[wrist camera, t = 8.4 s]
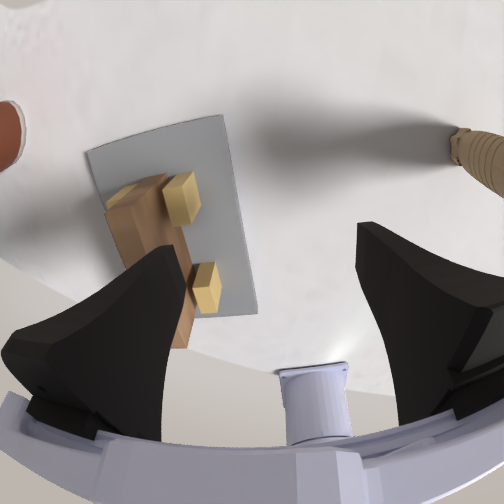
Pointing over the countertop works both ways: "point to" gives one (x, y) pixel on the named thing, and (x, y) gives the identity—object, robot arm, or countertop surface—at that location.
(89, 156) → the hinge board
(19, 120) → the coffee cup
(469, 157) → the handle
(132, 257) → the door panel
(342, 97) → the countertop surface
